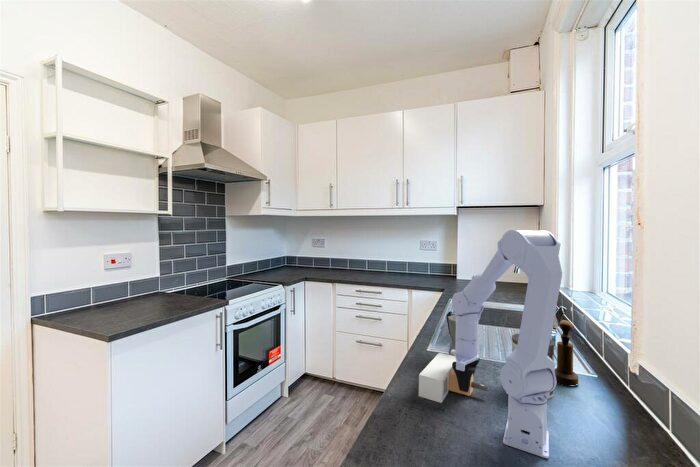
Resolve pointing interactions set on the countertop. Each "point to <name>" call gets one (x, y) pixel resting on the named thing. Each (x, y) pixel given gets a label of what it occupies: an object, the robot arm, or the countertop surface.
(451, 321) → the coffeepot
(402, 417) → the countertop surface
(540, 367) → the robot arm
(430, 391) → the white rectangular block
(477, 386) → the plug
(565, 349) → the wooden pepper mill
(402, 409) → the countertop surface
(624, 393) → the countertop surface
